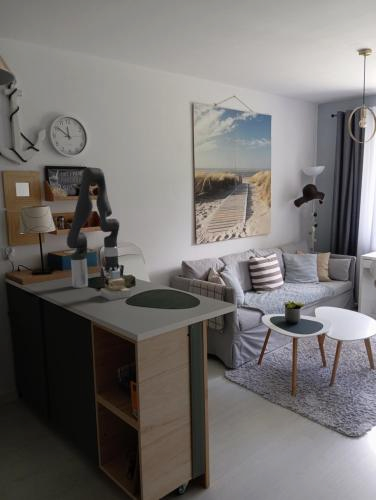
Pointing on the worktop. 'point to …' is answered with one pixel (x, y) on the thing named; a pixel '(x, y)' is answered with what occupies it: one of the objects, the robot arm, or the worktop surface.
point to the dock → (115, 293)
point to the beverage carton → (128, 281)
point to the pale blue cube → (115, 274)
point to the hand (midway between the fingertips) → (112, 284)
